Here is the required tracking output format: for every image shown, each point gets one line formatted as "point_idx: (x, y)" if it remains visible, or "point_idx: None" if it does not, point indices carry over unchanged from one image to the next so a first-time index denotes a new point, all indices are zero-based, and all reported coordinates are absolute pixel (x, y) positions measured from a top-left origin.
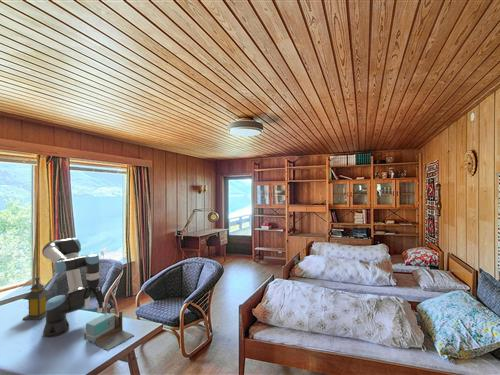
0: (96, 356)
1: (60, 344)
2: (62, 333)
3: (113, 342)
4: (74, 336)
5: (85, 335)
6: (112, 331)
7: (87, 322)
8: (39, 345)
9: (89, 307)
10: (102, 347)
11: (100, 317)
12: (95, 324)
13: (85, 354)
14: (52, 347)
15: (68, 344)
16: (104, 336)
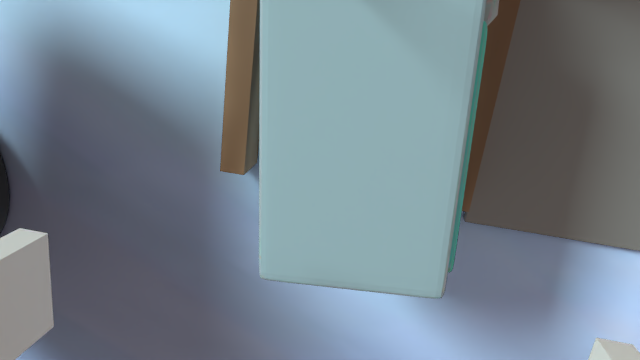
0: (606, 334)
1: (157, 297)
2: (5, 189)
3: (628, 137)
4: (137, 176)
5: (249, 168)
6: (509, 20)
7: (262, 260)
8: (36, 347)
9: (47, 242)
10: (572, 238)
11: (315, 67)
12: (437, 270)
13: (483, 338)
14: (144, 340)
15: (214, 279)
16: (485, 133)
